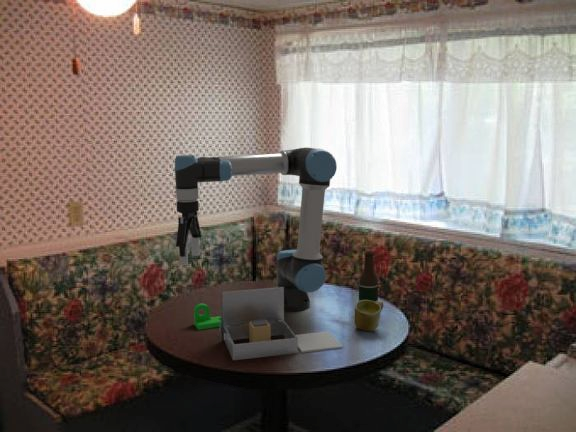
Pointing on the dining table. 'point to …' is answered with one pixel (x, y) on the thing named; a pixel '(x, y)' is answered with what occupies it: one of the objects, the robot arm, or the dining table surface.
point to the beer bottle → (368, 280)
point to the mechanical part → (205, 318)
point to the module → (259, 331)
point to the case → (255, 306)
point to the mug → (368, 314)
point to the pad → (317, 342)
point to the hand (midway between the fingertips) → (190, 260)
